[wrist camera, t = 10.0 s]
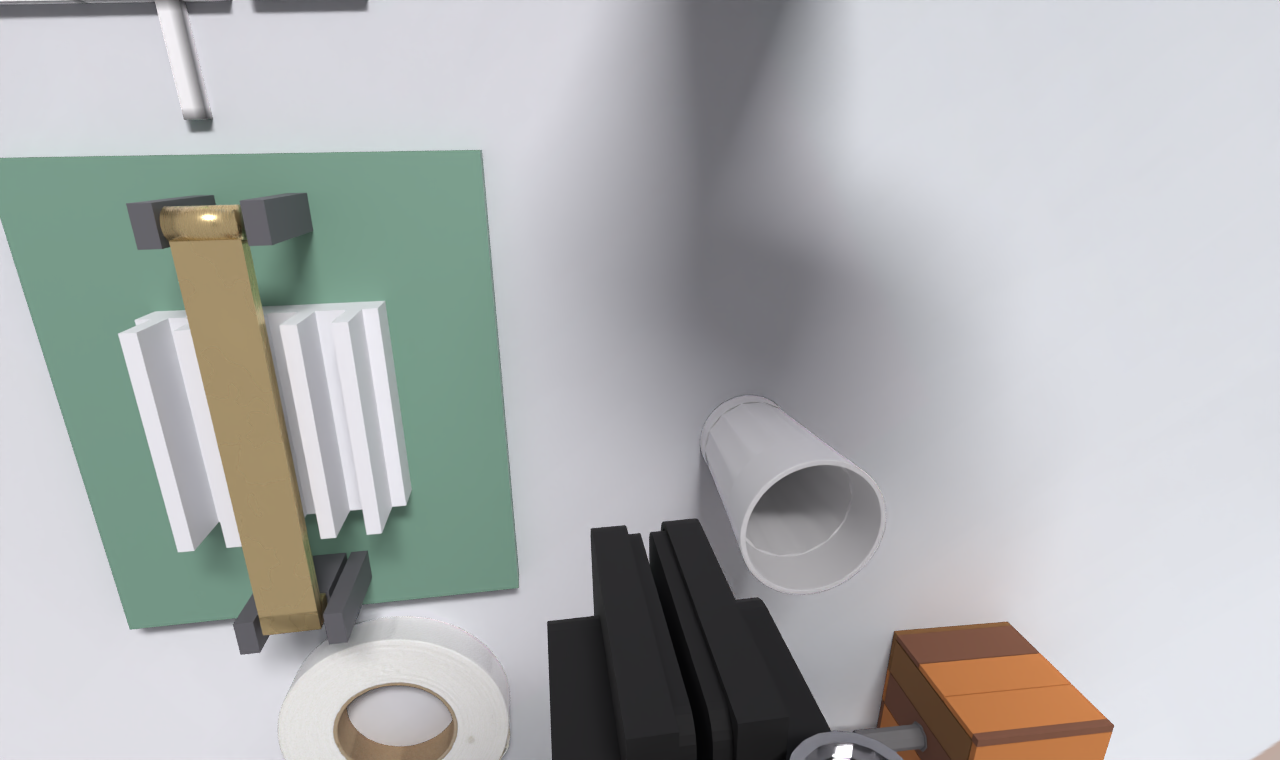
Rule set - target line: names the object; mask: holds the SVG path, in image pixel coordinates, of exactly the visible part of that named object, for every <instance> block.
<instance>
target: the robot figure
mask: <svg viewBox="0 0 1280 760" xmlns="http://www.w3.org/2000/svg"><path fill="white" fill-rule="evenodd" d="M185 1H232V0H0V5H11V4H68V3H125V2H155V4H156V8H157V12H158V16H159V20H160V25H161V29H162V33H163V37H164V41H165V45H166V49H167V53H168V57H169V61H170V65H171V69H172V73H173V77H174V81H175V85H176V89H177V93H178V97H179V101H180V105H181V109H182V113H183V117H184V120H207V119H213V117H212V113H211V109H210V104H209V100H208V96H207V92H206V87H205V83H204V79H203V75H202V70H201V66H200V62H199V58H198V53H197V49H196V45H195V41H194V37H193V32H192V28H191V24H190V20H189V15H188V11H187V7H186V3H185Z"/></svg>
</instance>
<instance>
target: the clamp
mask: <svg viewBox="0 0 1280 760" xmlns="http://www.w3.org/2000/svg"><path fill="white" fill-rule="evenodd" d="M1113 727H1114V725H1113V724H1112V723H1111V722H1110V721H1109V720H1108V719H1107V718H1106V717H1105V716H1104V715H1103V714H1102V713H1101V712H1100V711H1099V710H1098V709H1097V708H1096V707H1094V706H1093V705H1092V704H1091V703H1090V702H1089V701H1088V700H1087V699H1086V698H1085V697H1084V696H1083V695H1082V694H1081V693H1080V692H1079V691H1078V690H1077V689H1076V688H1075V687H1074V686H1073V685H1071V683H1070V682H1069V681H1068V680H1067V679H1066V678H1065V677H1064V676H1063V675H1062V674H1061V673H1060V672H1059V671H1058V670H1057V669H1056V668H1055V667H1054V666H1053V665H1052V664H1051V663H1050V662H1049V661H1048V660H1047V659H1045V658H1044V657H1043V656H1042V655H1041V654H1040V653H1039V652H1038V651H1037V650H1036V649H1035V648H1034V647H1033V646H1032V645H1031V644H1030V643H1029V642H1028V641H1027V640H1026V639H1025V638H1024V637H1023V636H1022V635H1021V634H1020V633H1019V632H1018V631H1017V630H1016V629H1015V628H1014V627H1013V626H1011V625H1010V624H1009V623H1008V622H998V623H986V624H974V625H962V626H950V627H938V628H926V629H914V630H901V631H894V636H893V641H892V646H891V652H890V658H889V663H888V669H887V674H886V680H885V685H884V691H883V696H882V702H881V707H880V713H879V718H878V724H877V728H874V729H864V730H855V731H854V732H853V733H858V734H861V735H863V736H866V737H869V738H872V739H874V740H877V741H879V742H881V743H882V744H884V745H885V746H887V747H889V748H890V749H892V750H893V751H895V752H896V753H897V754H898V755H899V756H901V757H902V758H903V759H904V760H1103V759H1104V756H1105V753H1106V750H1107V747H1108V744H1109V741H1110V737H1111V734H1112V731H1113Z"/></svg>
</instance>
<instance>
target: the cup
mask: <svg viewBox="0 0 1280 760" xmlns="http://www.w3.org/2000/svg"><path fill="white" fill-rule="evenodd" d="M700 447H701V452H702V456H703V458H704V460H705V462H706V464H707V465H708V467H709V469H710V472H711V474H712V477H713V479H714V482H715V484H716V487H717V489H718V492H719V494H720V497H721V500H722V502H723V505H724V507H725V510H726V512H727V515H728V517H729V520H730V523H731V526H732V529H733V532H734V534H735V537H736V540H737V543H738V545H739V548H740V551H741V554H742V556H743V559H744V562H745V564H746V566H747V567H748V569H749V570H750V572H751V573H752V574H753V575H754V576H755V577H756V578H757V579H758V580H759V581H760V582H761V583H763V584H764V585H766V586H768V587H769V588H771V589H774V590H776V591H779V592H783V593H787V594H796V595H805V594H813V593H819V592H822V591H826V590H829V589H831V588H834V587H836V586H838V585H840V584H842V583H844V582H845V581H847V580H849V579H850V578H851V577H853V576H854V575H855V574H857V573H858V572H859V571H860V570H861V569H862V568H863V567H864V566H865V565H866V564H867V563H868V561H869V560H870V559H871V558H872V556H873V555H874V553H875V552H876V550H877V548H878V546H879V544H880V542H881V539H882V537H883V533H884V530H885V524H886V506H885V501H884V498H883V495H882V492H881V490H880V488H879V487H878V485H877V484H876V482H875V481H874V480H873V479H872V477H871V476H870V475H868V474H867V473H866V472H865V471H863V470H862V469H861V468H859V467H858V466H856V465H855V464H854V463H852V462H851V461H849V460H848V459H847V458H845V457H844V456H842V455H841V454H840V453H838V452H837V451H835V450H834V449H833V448H831V447H830V446H829V445H827V444H826V443H825V442H823V441H822V440H821V439H819V438H818V437H817V436H815V435H814V434H813V433H811V432H810V431H809V430H807V429H806V428H805V427H803V426H802V425H801V424H799V423H798V422H797V421H796V420H794V419H793V418H792V417H790V416H789V415H788V414H786V413H785V412H784V411H782V409H781V408H780V407H779V406H778V405H776V404H775V403H774V402H772V401H771V400H769V399H767V398H764V397H761V396H756V395H744V396H739V397H735V398H732V399H730V400H728V401H726V402H724V403H723V404H721V405H720V406H718V407H717V408H716V409H715V410H714V411H713V412H712V413H711V414H710V416H709V417H708V419H707V420H706V422H705V424H704V426H703V429H702V432H701V438H700Z"/></svg>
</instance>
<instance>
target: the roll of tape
mask: <svg viewBox="0 0 1280 760" xmlns="http://www.w3.org/2000/svg"><path fill="white" fill-rule="evenodd" d="M394 685H402V686H411V687H416V688H419V689H422V690H425V691H427V692H429V693H431V694H433V695H434V696H436V697H437V698H438V699H440V700H441V701H442V702H443V703H444V704H445V705H446V707H447V708H448V710H449V712H450V713H451V715H452V719H453V720H452V722H451V723H450V725H449V726H448V727H447V728H446V729H445V730H444V731H443V732H442V733H440V734H439V735H438V736H436V737H434V738H433V739H431V740H428V741H426V742H423V743H420V744H417V745H412V746H404V747H397V746H388V745H383V744H379V743H376V742H374V741H372V740H370V739H368V738H366V737H365V736H363V735H362V734H361V733H360V732H358V731H357V730H356V728H355V727H354V726H353V725H352V723H351V721H350V720H349V717H348V713H347V708H346V707H347V706H348V705H349V704H350V703H351V702H352V701H353V700H354V699H355V698H356V697H358V696H360V695H362V694H363V693H365V692H367V691H369V690H372V689H375V688H379V687H384V686H394ZM509 712H510V689H509V683H508V680H507V677H506V674H505V672H504V669H503V667H502V665H501V664H500V662H499V661H498V659H497V658H496V656H495V655H494V654H493V653H492V651H491V650H490V649H489V648H488V647H487V646H486V645H485V644H484V643H482V642H481V641H480V640H479V639H477V638H476V637H474V636H473V635H471V634H470V633H468V632H466V631H465V630H463V629H461V628H459V627H456V626H454V625H451V624H448V623H446V622H442V621H439V620H435V619H430V618H424V617H413V616H395V617H385V618H379V619H374V620H369V621H365V622H362V623H359V624H355V625H354V627H353V630H352V633H351V635H350V638H349V641H348V642H347V643H339V644H330V645H329V642H328V639H327V640H325V641H324V642H323V643H321V644H320V645H319V646H318V647H317V648H316V649H315V650H314V651H313V652H312V653H311V654H310V655H309V656H308V657H307V658H306V660H305V661H304V662H303V664H302V665H301V667H300V668H299V670H298V672H297V674H296V676H295V678H294V680H293V682H292V684H291V687H290V689H289V691H288V693H287V695H286V697H285V700H284V702H283V704H282V707H281V710H280V714H279V719H278V739H279V745H280V749H281V752H282V754H283V757H284V759H285V760H501V759H502V757H503V756H504V754H505V753H506V751H507V750H508V748H509V742H510V725H509Z"/></svg>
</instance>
